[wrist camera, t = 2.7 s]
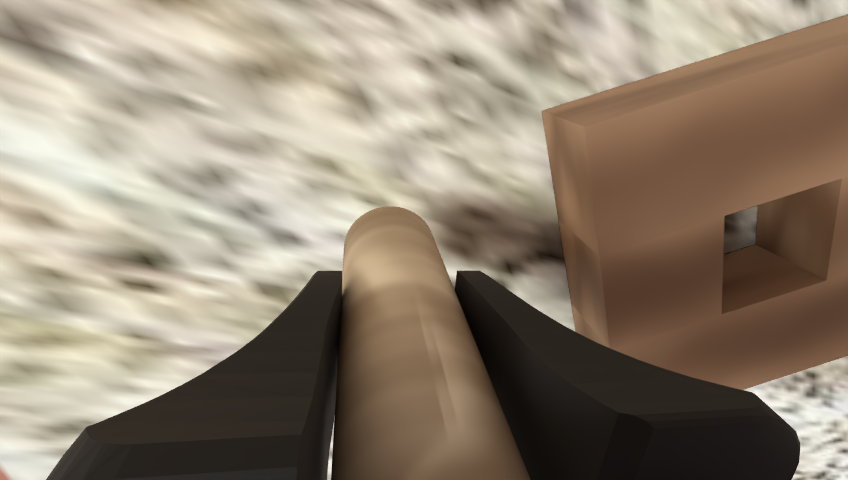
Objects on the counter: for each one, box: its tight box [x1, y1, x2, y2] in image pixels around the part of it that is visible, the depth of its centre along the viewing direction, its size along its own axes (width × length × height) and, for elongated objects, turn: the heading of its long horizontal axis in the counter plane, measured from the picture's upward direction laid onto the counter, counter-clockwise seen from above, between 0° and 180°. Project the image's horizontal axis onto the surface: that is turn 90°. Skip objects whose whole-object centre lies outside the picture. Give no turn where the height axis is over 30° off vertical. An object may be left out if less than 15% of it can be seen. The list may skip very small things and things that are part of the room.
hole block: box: [542, 15, 848, 390], centre depth 18 cm, size 14×14×4 cm
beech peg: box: [331, 207, 531, 480], centre depth 10 cm, size 3×3×10 cm
